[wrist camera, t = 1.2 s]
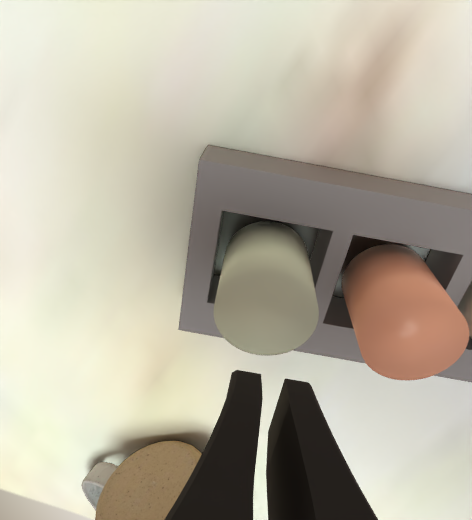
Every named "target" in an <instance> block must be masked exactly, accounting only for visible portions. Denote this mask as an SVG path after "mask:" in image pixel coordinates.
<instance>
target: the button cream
mask: <svg viewBox="0 0 472 520" xmlns="http://www.w3.org/2000/svg"><path fill="white" fill-rule="evenodd" d="M457 308H458V309H459V310H460V312H461V313H462V315H463V316H464V317H465V319H466V321H467V323H468V327H469V335H470V337H471V338H472V282H471V283H470V285H469V286H468V288H467V290H466V292H465V294H464V296H463V297H462V299H461V301H460V303H459V305H458V307H457Z"/></svg>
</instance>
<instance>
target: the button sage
mask: <svg viewBox="0 0 472 520" xmlns="http://www.w3.org/2000/svg"><path fill="white" fill-rule="evenodd" d="M318 318H319V308H318V303H317V298H316V292H315V287H314V282H313V277H312V271H311V266H310V261H309V256H308V251H307V247H306V245H305V243H304V241H303V239H302V238H301V237H300V235H299V234H298V233H296V232H295V231H294V230H293V229H291V228H290V227H288V226H286V225H283V224H281V223H277V222H270V221H262V222H256V223H252V224H250V225H247V226H245V227H243V228H242V229H240V230H239V231H238V232H237V233H235V234H234V236H233V237H232V238H231V239H230V241H229V243H228V245H227V247H226V251H225V256H224V261H223V265H222V270H221V275H220V280H219V285H218V289H217V294H216V299H215V304H214V320H215V323H216V326H217V328H218V330H219V332H220V333H221V335H222V336H223V337H224V338H225V339H226V340H227V341H228V342H229V343H230V344H232V345H233V346H235V347H236V348H238V349H240V350H242V351H245V352H248V353H252V354H256V355H278V354H283V353H286V352H289V351H291V350H294V349H296V348H297V347H299V346H301V345H302V344H303V343H305V342H306V341H307V340H308V339H309V338H310V336H311V335H312V334H313V332H314V330H315V328H316V326H317V323H318Z"/></svg>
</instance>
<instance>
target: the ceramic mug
mask: <svg viewBox="0 0 472 520" xmlns="http://www.w3.org/2000/svg"><path fill="white" fill-rule="evenodd" d="M201 455H202V453H201V452H200V451H199V450H197V449H196V448H195V447H194V446H192V445H190V444H187V443H184V442H180V441H163V442H157V443H154V444H151V445H148V446H146V447H144V448H142V449H140V450H138V451H136V452H135V453H133V454H132V455H131V456H129V457H128V458H127V459H125V460H124V461H123V462H122V463H121V464H120V465H119V467H118V466H116V465H114V464H112V463H107V462H100V463H98V464H96V465H95V466H94V467H93V469H92V470H91V471H90V472H89V473H88V474H87V476H86V477H85V478H84V480H83V482H82V489H83V492H84V494H85V496H86V498H87V499H88V501H89V502H90V503H91V505H92V506H93V507H94V509H95V510H96V518H95V520H164V519H165V518H166V516H167V514H168V513H169V511H170V510H171V508H172V506H173V505H174V503H175V501H176V500H177V498H178V496H179V495H180V493H181V491H182V490H183V488H184V486H185V484H186V483H187V481H188V479H189V477H190V476H191V474H192V472H193V470H194V468H195V466H196V464H197V462H198V461H199V459H200V457H201Z"/></svg>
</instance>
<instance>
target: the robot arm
mask: <svg viewBox="0 0 472 520" xmlns="http://www.w3.org/2000/svg"><path fill="white" fill-rule="evenodd" d="M261 408H262V383H261V374H257V373H251V372H245V371H240V370H236V371H234V372H232V375H231V380H230V384H229V389H228V393H227V398H226V401H225V403H224V406H223V409H222V411H221V414H220V416H219V419H218V421H217V423H216V426H215V428H214V430H213V432H212V435H211V437H210V439H209V441H208V443H207V445H206V447H205V449H204V451H203V453H202V455H201V457H200V459H199V461H198V462H197V464H196V466H195V468H194V470H193V472H192V474H191V476H190V477H189V479H188V481H187V483H186V484H185V486H184V488H183V490H182V491H181V493H180V495H179V496H178V498H177V500H176V501H175V503H174V505H173V506H172V508H171V510H170V511H169V513H168V514H167V516H166V518H165V519H164V520H253V488H254V474H255V464H256V455H257V446H258V436H259V427H260V417H261ZM266 479H267V500H268V520H378V519H377V517H376V515H375V514H374V512H373V510H372V508H371V507H370V505H369V503H368V501H367V500H366V498H365V496H364V494H363V493H362V491H361V489H360V487H359V485H358V484H357V482H356V480H355V478H354V476H353V474H352V473H351V471H350V469H349V467H348V465H347V463H346V461H345V459H344V457H343V455H342V453H341V451H340V449H339V447H338V445H337V443H336V441H335V439H334V437H333V435H332V433H331V430H330V428H329V426H328V424H327V422H326V419H325V417H324V415H323V413H322V410H321V408H320V406H319V403H318V401H317V399H316V396H315V394H314V391H313V389H312V387H311V385H310V384H309V383H307V382H302V381H296V380H290V379H285V380H284V384H283V387H282V390H281V393H280V396H279V399H278V403H277V406H276V409H275V412H274V415H273V419H272V422H271V425H270V428H269V431H268V447H267V467H266Z"/></svg>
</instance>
